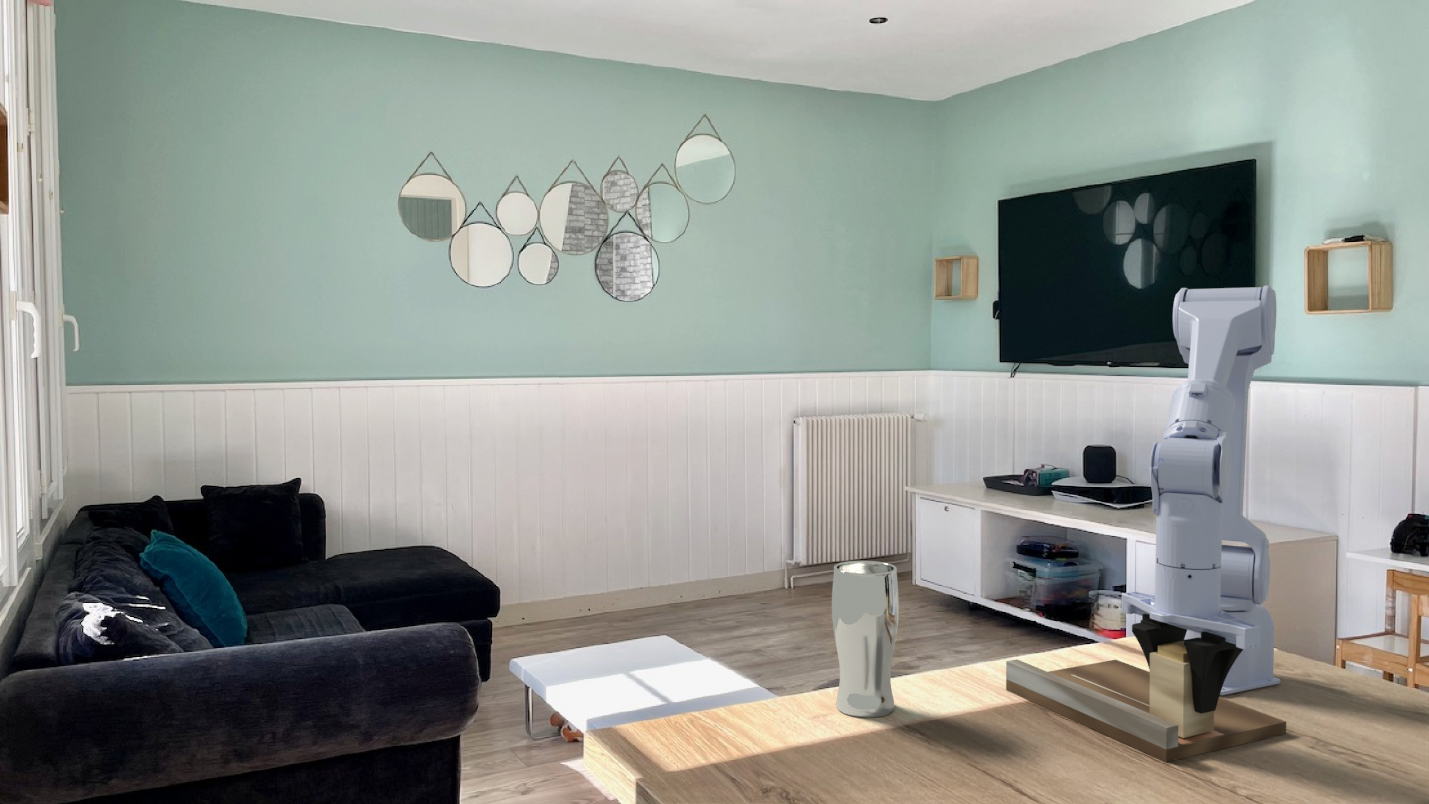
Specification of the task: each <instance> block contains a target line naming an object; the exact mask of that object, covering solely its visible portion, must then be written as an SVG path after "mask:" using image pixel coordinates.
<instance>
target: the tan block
mask: <svg viewBox="0 0 1429 804" xmlns="http://www.w3.org/2000/svg"><path fill="white" fill-rule="evenodd" d="M1149 672H1150V714H1152V715H1154V716H1157V717H1159V718H1162V719H1164V720H1167V721H1169V722H1172V723H1174V724H1176V725H1178V736H1179V737H1182V738H1185V737H1189V736H1193V735H1197V734H1201V733H1205V732H1209V731H1213V730H1214V711H1211V712H1206V713H1198V712H1195V710H1194V705H1193V693H1192V672H1191V666H1190V661H1189V658H1188V654H1187V651H1186V648H1185V646H1184V642H1182V641H1178V642H1173V643H1168V644H1163V645H1158V652H1153V653H1150V670H1149Z"/></svg>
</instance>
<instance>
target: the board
mask: <svg viewBox="0 0 1429 804" xmlns="http://www.w3.org/2000/svg"><path fill="white" fill-rule="evenodd" d="M1005 664H1006V666H1005V667H1006V668H1005V669H1006V670H1005V671H1006V673H1005V674H1006V675H1005V676H1006V677H1005V678H1006V679H1005V690H1006V691H1008V692H1010V693H1013V694H1015V695H1016V696H1019V697H1021V698H1023V699H1026V700H1029V701H1030V702H1032V703H1035V704H1037V705H1038V706H1041V707H1044V708H1045V709H1048V710H1049V711H1052V712H1055V713H1056V714H1059V715H1061V716H1063V717H1065V718H1067V719H1070V720H1072V721H1074V722H1076V723H1079V724H1081V725H1083V726H1085V727H1087V728H1089V729H1091V730H1094V731H1097V732H1099V733H1101V734H1102V735H1105V736H1107V737H1109V738H1111V739H1114V740H1116V741H1118V742H1121V743H1123V744H1125V745H1127V746H1130V747H1131V748H1134V749H1136V750H1138V751H1140V752H1142V753H1144V754H1148V756H1149V755H1150V756H1151V757H1154V758H1156V759H1159V760H1160V761H1163V762H1164V763H1168V762H1172V761H1176V760H1180V759H1185V758H1189V757H1193V756H1197V755H1202V754H1207V753H1211V752H1215V751H1218V750H1223V749H1227V748H1231V747H1237V746H1240V745H1244V744H1248V743H1252V742H1256V741H1260V740H1265V739H1270V738H1273V737H1279V736H1283V735H1286V734H1287V721H1286V720H1284V719H1283V720H1282V719H1280V718H1278V717H1276V716H1272V715H1269V714H1268V713H1267V714H1266V713H1263V712H1260V711H1258V710H1255V709H1253V708H1249V707H1247V706H1244V705H1241V704H1239V703H1237V702H1233V701H1231V700H1228V699H1224V698H1222V697H1220V696H1219V699H1218V703H1217V706H1216V710H1215V711H1214V730H1213V731H1209V732H1205V733H1201V734H1197V735H1193V736H1189V737H1185V738H1182V737H1179V736H1178V725H1176V724H1174V723H1172V722H1169V721H1167V720H1164V719H1162V718H1159V717H1157V716H1154V715H1152V714H1150V671H1149V670H1146V669H1142V668H1140V667H1137V666H1135V665H1132V664H1129V663H1126V662H1123V661H1120V660H1118V659H1111V660H1107V661H1105V660H1104V661H1100V662H1095V663H1090V664H1089V663H1088V664H1084V665H1083V664H1082V665H1078V666H1077V665H1076V666H1072V667H1066V668H1062V669H1054V670H1050V671H1047V670H1044V669H1042V668H1039V667H1036V666H1034V665H1031V663H1030V664H1029V663H1027V662H1024V661H1022V660H1020V659H1013V660H1011V659H1010V660H1007V661H1006V663H1005Z"/></svg>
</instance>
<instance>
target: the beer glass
mask: <svg viewBox="0 0 1429 804" xmlns="http://www.w3.org/2000/svg"><path fill="white" fill-rule="evenodd" d="M897 572H898V568H897V566H895V565H893V564H891V563H887V562H883V561H875V560H850V561H843V562H839V563H837V564H834V566H833V578H832V592H831V619H832V629H833V636H834V639H835V640H834V641H835V647H836V652H837V658H838V663H839V664H838V665H839V683H838V684H839V685H838V689H837V696H836V703H835V706H836V709H837V710H838V711H840V712H841V713H842V714H844V715H847V716H851V717H854V718H855V717H857V718H863V719H864V718H865V719H866V718H868V719H869V718H870V719H871V718H881V717H885V716H887V715H889V714H891V713H892V712H894V710H895V702H894V701H895V700H894V696H893V690H892V683H891V679H892V678H891V669H892V662H893V656H894V651H895V646H896V645H895V644H896V640H897V634H898V625H899V615H900V613H899V611H900V605H899V603H900V602H899V585H898V574H897Z"/></svg>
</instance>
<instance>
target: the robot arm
mask: <svg viewBox="0 0 1429 804" xmlns="http://www.w3.org/2000/svg"><path fill="white" fill-rule="evenodd" d="M1173 300H1174V301H1173V307H1172V330H1173V335H1174V338H1175V340H1176V343H1177V346H1178V351H1179V354H1181V355H1182V359H1183V362H1184V363H1185V364H1187V365H1188V372H1187V381H1185V382H1183V383H1181V384H1179V385H1178V386H1177V387H1176V388H1175V390H1174V391H1173V393H1172V396H1171V401H1170V404H1169V405H1170V406H1169V410H1168V414H1167V419H1166V423H1165V426H1164V433H1163V437H1162V440H1161V442H1158V441H1155V442H1154V443H1153V445H1152V449H1151V451H1150V458H1149V480H1150V487H1151V493H1152V494H1151V495H1152V513H1153V515H1156V524H1155V569H1154V570H1155V574H1154V575H1155V577H1154V578H1155V579H1154V580H1155V581H1154V583H1155V584H1154V594H1149V593H1144V592H1140V591H1130V592H1125V593H1124V592H1122V593H1121V609H1120V610H1121V612H1122V613H1123V614H1126V615H1127V614H1128V615H1132V614H1135V615H1137V616H1141V617H1142V618H1141V619H1140V622H1136V623H1133V624H1132V625H1131V632H1132V634H1133V636H1134V637H1135V638H1136V640H1137V642H1138V644H1139V646H1140V649H1141V651H1142V652H1143V655H1144V657H1145V659H1146V663H1147V667H1148V669H1149V670H1148V671H1150V653H1153V652H1158V645H1163V644H1168V643H1173V642H1178V641H1182V642H1184V646H1185V648H1186V651H1187V654H1188V658H1189V661H1190V666H1191V672H1192V693H1193V705H1194V710H1195V712H1198V713H1206V712H1211V711H1215V710H1216V706H1217V703H1218V699H1219V697H1220V696H1225V695H1231V694H1235V693H1239V692H1245V691H1249V690H1255V689H1259V688H1264V687H1270V686H1274V685H1277V684H1280V683H1281V680H1280V678H1278V677H1275V676H1274V665H1275V663H1274V661H1275V659H1274V658H1275V625H1274V624H1275V623H1274V620H1273V617H1272V615H1271V613H1270V612H1269V610H1268V608H1266V607H1265V606H1264V605H1263V603H1265V602H1266V601H1267V600H1268V597H1269V590H1270V579H1271V578H1270V577H1271V576H1270V574H1271V559H1270V557H1271V556H1270V542H1269V541H1270V540H1269V539H1268V538H1267V535H1266V533H1265V532H1264V531H1263V530H1262V529H1261V528H1259V527H1258V526H1256V525H1255V524H1254V523H1253V522H1251V521H1250V520H1249V519H1248V518H1246V517H1245V516H1244V514H1243V513H1244V495H1245V493H1244V492H1245V470H1246V469H1245V468H1246V448H1247V446H1246V445H1247V431H1248V430H1247V429H1248V428H1247V427H1248V426H1247V425H1248V407H1249V404H1248V403H1249V389H1250V386H1251V383H1252V380H1253V376H1254V373H1255V371H1256V370H1257V369H1259V368H1262V367H1264V366H1267V365H1268V364H1271V363H1272V357H1273V355H1274V354H1275V343H1276V342H1275V341H1276V328H1277V327H1276V326H1277V294H1276V291H1275V290H1274V288H1272V287H1271V285H1263V286H1258V287H1254V286H1253V287H1224V288H1223V287H1222V288H1218V287H1217V288H1190V289H1189V288H1187V287H1181V288H1180V290H1178V292H1177V293H1176V294H1175V297H1174V299H1173ZM1223 541H1228V542H1239V543H1241V542H1242V543H1245V544H1247V545H1248V546H1242V545H1241V546H1240V545H1239V546H1238V545H1228V544H1223V543H1222V542H1223Z"/></svg>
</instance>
